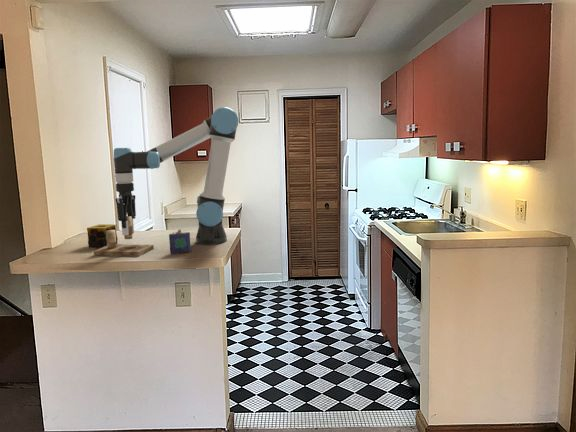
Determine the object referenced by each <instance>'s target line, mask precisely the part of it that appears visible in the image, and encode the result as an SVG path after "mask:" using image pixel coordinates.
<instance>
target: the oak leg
mask: <svg viewBox="0 0 576 432" xmlns="http://www.w3.org/2000/svg"><path fill="white" fill-rule="evenodd" d="M126 221H128V230H129V235H123V236H124V240H132V239H133V234H134V233H133V229H132V216H127V220H126Z"/></svg>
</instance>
